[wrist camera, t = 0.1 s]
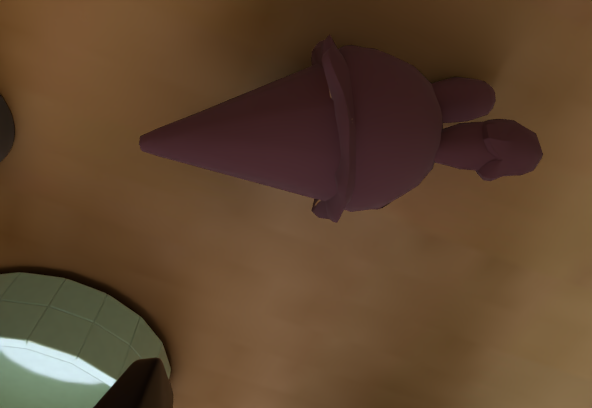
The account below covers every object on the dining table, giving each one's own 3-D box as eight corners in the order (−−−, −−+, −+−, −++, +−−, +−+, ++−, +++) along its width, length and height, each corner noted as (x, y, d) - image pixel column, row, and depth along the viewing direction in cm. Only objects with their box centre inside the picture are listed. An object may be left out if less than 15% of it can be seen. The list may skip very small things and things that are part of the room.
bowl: (193, 422, 31) (180, 500, 26) (-14, 445, 31) (-61, 527, 26) (137, 251, 24) (108, 318, 20) (-127, 281, 24) (-216, 354, 20)
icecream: (149, 280, 17) (524, 245, 19) (94, 106, 12) (615, 80, 14) (163, 165, 22) (458, 146, 24) (128, 8, 17) (506, -1, 19)
